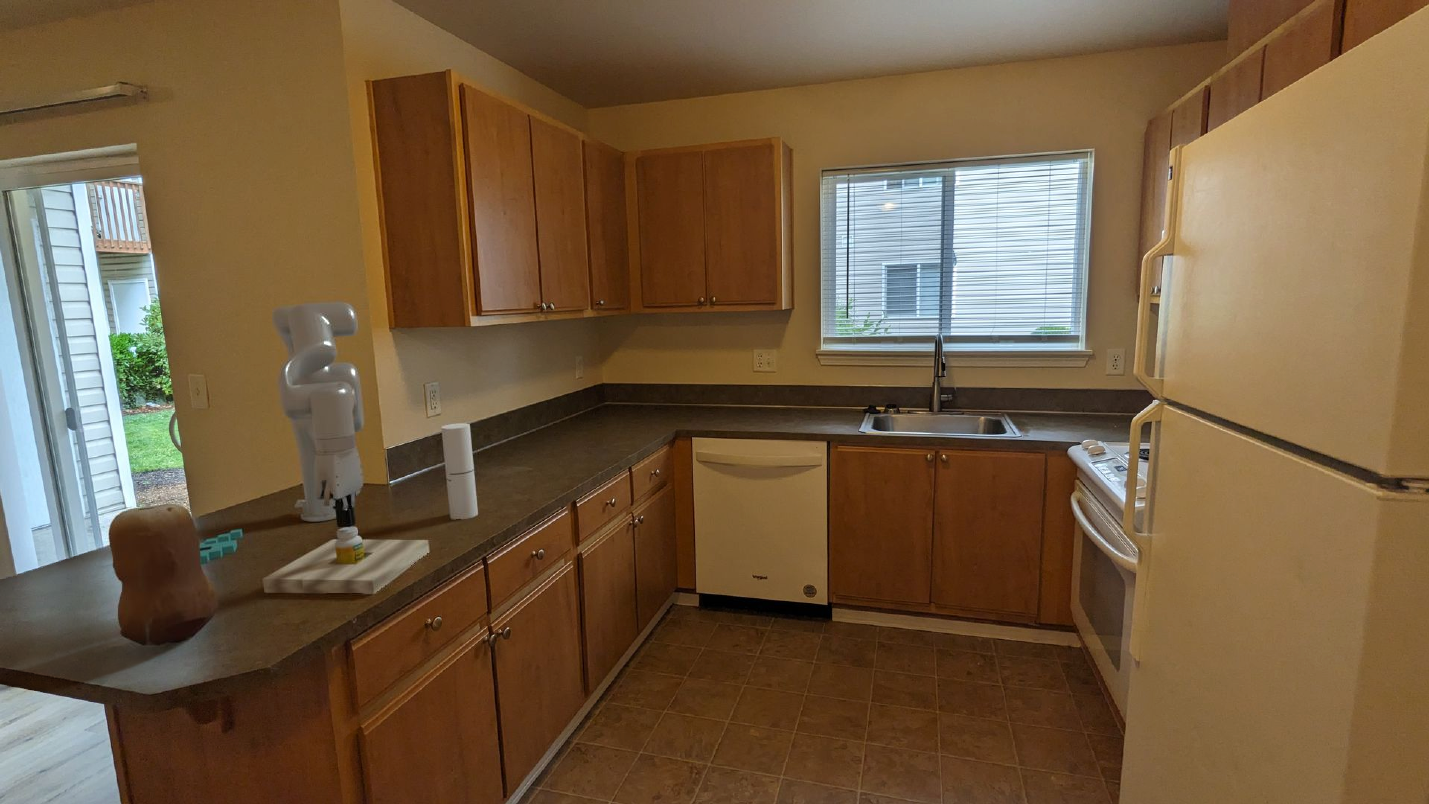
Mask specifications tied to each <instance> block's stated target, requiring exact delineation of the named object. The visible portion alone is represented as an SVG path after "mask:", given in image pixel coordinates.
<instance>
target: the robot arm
mask: <svg viewBox="0 0 1429 804" xmlns="http://www.w3.org/2000/svg"><path fill="white" fill-rule="evenodd" d="M271 319H272V325H273V326H274V329H275V331H276V333H277V335H278V336H279V338H280V340H281V341H282V343H283V344H284V346H285V348H286V351H287V353H288V354H287V355H288V358H287V359H286V360H285V362H284V363H283V364H282V366H281V368H280V370H279V371H278V372H279V373H278V376H277V389H278V395H279V400H280V401H279V402H280V406H281V409H282V413H283V414H284V415H285V417H287V418H288V419H290V423H291V427H292V431H293V434H294V438H295V441H296V445H297V450H298V456H299V457H298V458H299V463H300V470H301V471H300V472H301V479H302V483H303V492H304V493H303V494H304V499H297V500H296V503H295V504H294V508H295V509H296V510H297V509H302V513H301V514H300V517H301V518H300V519H301V520H302V521H304V522H314V523H315V522H316V523H317V522H324V521H331V520H335V519H336V526H337V528H345V527H354V525H356V523H357V522H356V516H355V508H354V507H355V506H356V497H357V496H358V495H359V494H360V493H361V491H362V488H363V486H364V474H363V468H362V467H363V466H362V462H361V459H360V454H359V451H358V447H357V439H356V438H357V437H356V433H359V432H360V431H362V430H363V428H364V426H365V415H364V405H363V404H364V403H363V395H362V386H361V378H360V373H359V372H358V371H359V370H358V369H357V367H356V366H355V365H354V364H353V363H350V362H346V361H345V362H344V361H343V362H339V361H338V362H335V360H336V359H337V356H338V348H337V346H336V341H335V338H339V337H341V338H342V337H353V336H355V335H356V334H357V332H358V330H359V329H358V328H359V320H358V315H357V313H356V310H355V309H354V307H353V306H352V304H350V303H348V302H342V301H335V302H333V301H331V302H307V303H300V304H296V305H295V304H293V305H284V306H279V307H277V308H275V309H274V310H273V311H272V314H271Z"/></svg>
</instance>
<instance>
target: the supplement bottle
mask: <svg viewBox="0 0 1429 804" xmlns="http://www.w3.org/2000/svg"><path fill="white" fill-rule="evenodd" d="M358 533H359V530H358V527H357V526H351V527H341V528H339V529H338V530H337V531H336V537H337V539H338V540H337V541H336V542H335V549H336V556H337V563H338V564H357V563H359V562H360V561H362V560H363V559H365V557H364V549H363V541H362V540H363V539H362V536H360V535H358Z"/></svg>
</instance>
